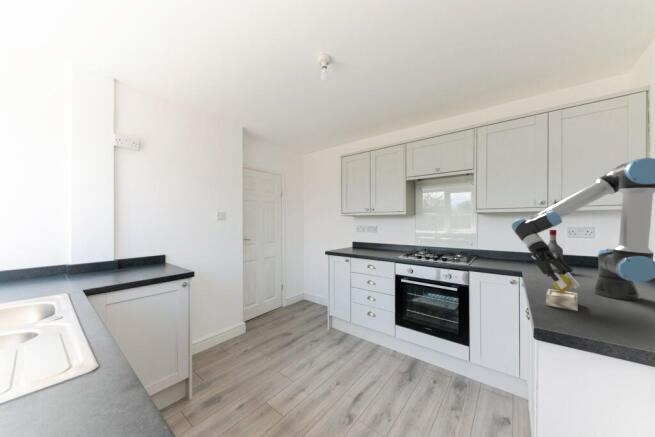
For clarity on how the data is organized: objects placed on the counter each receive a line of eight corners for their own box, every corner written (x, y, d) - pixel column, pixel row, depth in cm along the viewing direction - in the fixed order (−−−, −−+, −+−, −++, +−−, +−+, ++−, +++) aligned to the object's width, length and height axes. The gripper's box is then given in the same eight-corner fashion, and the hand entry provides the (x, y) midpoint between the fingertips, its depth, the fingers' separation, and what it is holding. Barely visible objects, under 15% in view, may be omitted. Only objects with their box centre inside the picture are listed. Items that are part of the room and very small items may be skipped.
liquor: (554, 273, 177) (554, 230, 177) (541, 270, 186) (541, 229, 186) (565, 272, 179) (565, 230, 179) (551, 270, 188) (551, 229, 188)
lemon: (553, 289, 118) (553, 272, 118) (569, 292, 115) (569, 274, 115) (553, 292, 114) (553, 274, 114) (570, 294, 110) (570, 276, 110)
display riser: (577, 303, 115) (577, 293, 115) (577, 310, 106) (577, 299, 106) (548, 298, 122) (548, 288, 122) (546, 305, 113) (546, 294, 113)
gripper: (547, 249, 130) (583, 290, 114) (514, 250, 129) (545, 292, 112) (558, 240, 125) (596, 281, 109) (523, 240, 123) (557, 283, 107)
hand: (570, 287), depth 110 cm, fingers closed on lemon, 5 cm apart
